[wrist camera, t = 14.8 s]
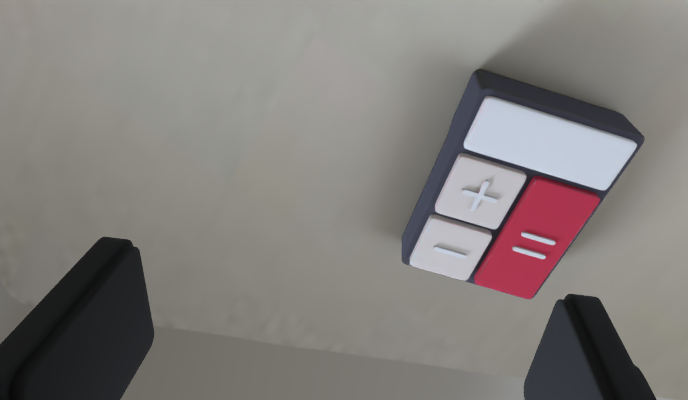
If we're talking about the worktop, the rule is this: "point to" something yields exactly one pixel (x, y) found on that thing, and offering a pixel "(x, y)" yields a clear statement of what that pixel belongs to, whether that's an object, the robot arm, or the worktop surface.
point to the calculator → (515, 184)
